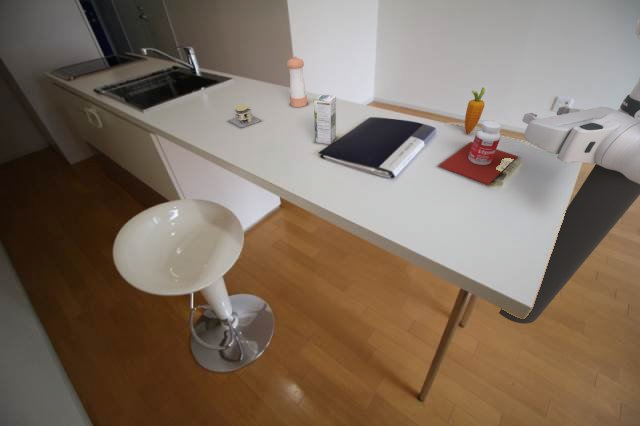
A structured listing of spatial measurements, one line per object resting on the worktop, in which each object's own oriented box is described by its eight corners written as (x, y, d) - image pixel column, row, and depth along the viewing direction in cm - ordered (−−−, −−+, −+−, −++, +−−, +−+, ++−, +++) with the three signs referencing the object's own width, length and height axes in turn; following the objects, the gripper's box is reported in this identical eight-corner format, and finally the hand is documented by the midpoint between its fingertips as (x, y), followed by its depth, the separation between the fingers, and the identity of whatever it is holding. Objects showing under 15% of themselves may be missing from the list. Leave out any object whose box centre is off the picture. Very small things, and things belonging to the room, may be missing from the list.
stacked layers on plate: (228, 121, 117) (225, 107, 113) (247, 114, 121) (245, 101, 118) (241, 127, 111) (238, 113, 108) (260, 121, 116) (258, 107, 112)
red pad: (470, 143, 94) (471, 141, 93) (517, 157, 85) (517, 155, 85) (438, 166, 83) (439, 164, 83) (487, 185, 75) (488, 183, 75)
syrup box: (320, 135, 103) (318, 93, 93) (336, 137, 101) (336, 95, 92) (315, 142, 99) (312, 99, 89) (331, 144, 97) (330, 101, 88)
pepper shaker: (298, 108, 125) (294, 59, 113) (287, 104, 129) (282, 57, 116) (310, 103, 129) (307, 55, 116) (299, 100, 133) (295, 53, 120)
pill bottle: (472, 166, 82) (485, 129, 75) (464, 155, 86) (475, 120, 79) (494, 165, 82) (509, 128, 74) (485, 155, 86) (498, 119, 79)
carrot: (463, 137, 97) (476, 91, 87) (457, 131, 101) (469, 86, 91) (477, 136, 97) (493, 90, 87) (471, 130, 101) (485, 85, 91)
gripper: (660, 113, 53) (587, 91, 64) (574, 132, 49) (511, 105, 60) (638, 144, 57) (572, 119, 68) (556, 164, 53) (500, 134, 64)
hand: (543, 113), depth 64 cm, fingers open, 8 cm apart
